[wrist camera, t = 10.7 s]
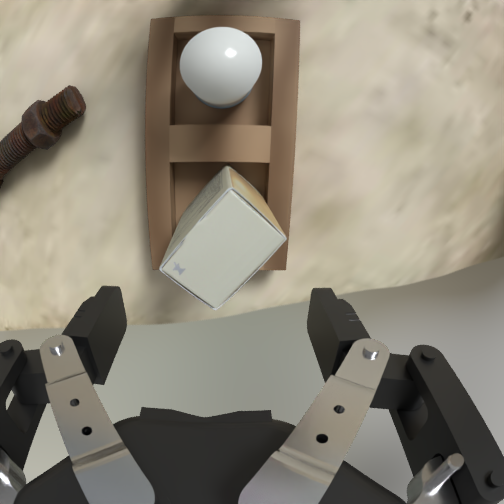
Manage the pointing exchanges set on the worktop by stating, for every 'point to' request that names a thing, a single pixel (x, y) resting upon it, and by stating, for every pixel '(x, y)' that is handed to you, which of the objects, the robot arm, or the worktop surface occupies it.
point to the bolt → (40, 127)
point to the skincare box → (222, 239)
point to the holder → (219, 125)
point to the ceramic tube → (221, 66)
